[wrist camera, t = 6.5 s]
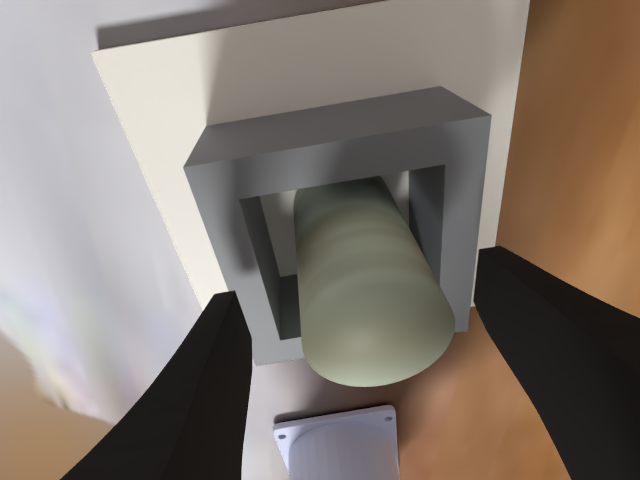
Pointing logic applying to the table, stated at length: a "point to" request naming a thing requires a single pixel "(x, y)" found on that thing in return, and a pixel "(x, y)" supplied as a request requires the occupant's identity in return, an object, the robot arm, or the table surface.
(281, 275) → the socket
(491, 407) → the table surface
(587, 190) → the table surface
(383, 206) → the peg
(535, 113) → the table surface
